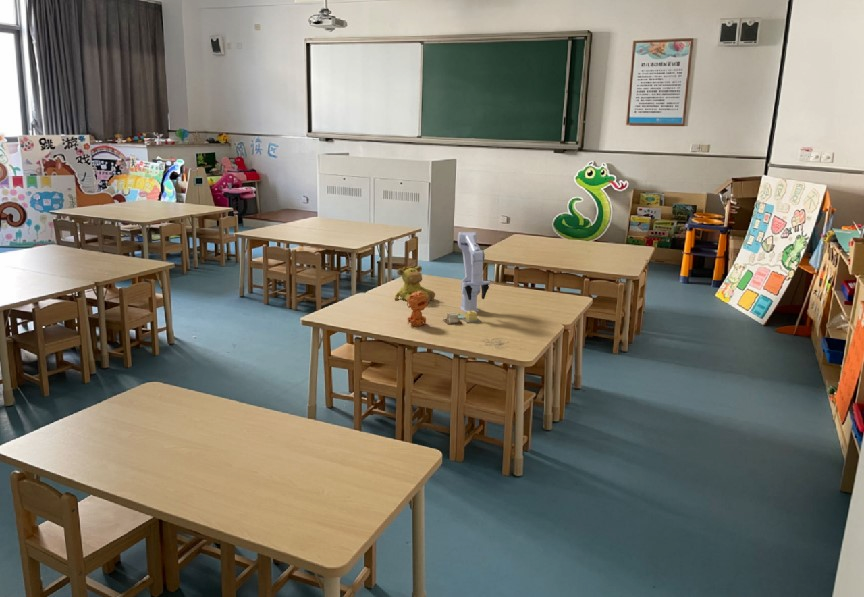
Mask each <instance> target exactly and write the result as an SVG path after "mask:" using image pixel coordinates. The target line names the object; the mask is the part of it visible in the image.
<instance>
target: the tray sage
mask: <svg viewBox="0 0 864 597" xmlns="http://www.w3.org/2000/svg"><path fill="white" fill-rule="evenodd" d="M457 314H458V320H462V318H463V317H466V315H465V316H464V315H463V313H461V312H459V313H457Z"/></svg>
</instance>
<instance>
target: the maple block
mask: <svg viewBox="0 0 864 597" xmlns="http://www.w3.org/2000/svg"><path fill="white" fill-rule="evenodd" d="M458 314H459V313H457V312H456V311H452V312H450V311H449V312H446V319H447V322H448V323H455V322H458V320H459V319H458Z"/></svg>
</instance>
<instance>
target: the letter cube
mask: <svg viewBox="0 0 864 597" xmlns="http://www.w3.org/2000/svg"><path fill="white" fill-rule="evenodd" d="M465 317H466V318H465V320H467V321H477V318H478V313H477V312H475V311H466V312H465Z"/></svg>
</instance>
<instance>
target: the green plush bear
mask: <svg viewBox="0 0 864 597" xmlns="http://www.w3.org/2000/svg"><path fill="white" fill-rule="evenodd" d="M422 270H423V268H422V266H420V265H418V266H414V265H410V266H406V267H405V266H403V267H402V268H398V269H397V270H396V273H397V275H398V276H401V279H402V281H403V285H402V287H401V288H400V289H399V291H398V292H396V294H395V295H394V298H393V299H394V300H395V301H398V299H399V298H400V299H402V300H406V302H407V299H408V297H409V296H410V295H412V293H414V292H418V291H421V290H422V291H421V292H423V293H424V294H426V296H427V299H426V300H424V301H429V302H430V300H431V301H433V300H435V297H436V293H435V292H434V290H431V289H429V288H426V287H424V286H421V282H422V281H423V275H422V273H421V272H422ZM399 296H400V297H399ZM408 301H409V300H408Z"/></svg>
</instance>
